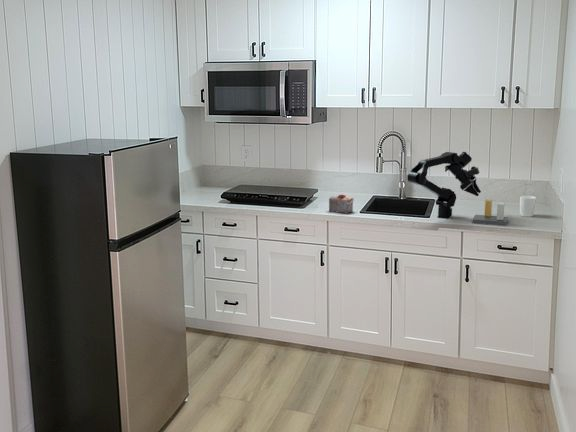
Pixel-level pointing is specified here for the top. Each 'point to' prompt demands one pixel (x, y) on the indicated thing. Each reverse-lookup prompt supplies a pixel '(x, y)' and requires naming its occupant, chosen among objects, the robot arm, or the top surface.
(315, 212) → the top surface
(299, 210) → the top surface
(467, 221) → the top surface
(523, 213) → the white cup
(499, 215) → the grey slider
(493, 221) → the grey slotted board
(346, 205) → the food item
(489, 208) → the amber slider
